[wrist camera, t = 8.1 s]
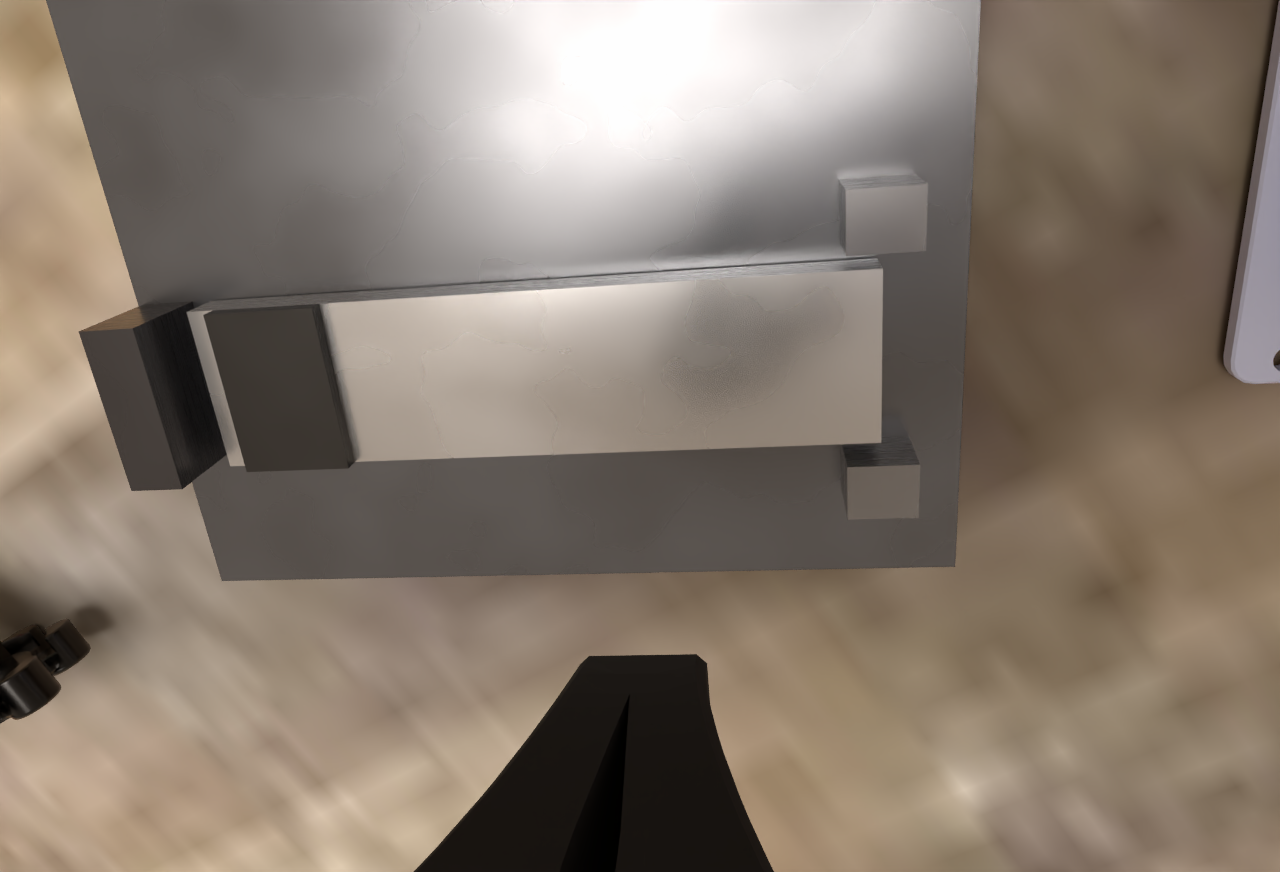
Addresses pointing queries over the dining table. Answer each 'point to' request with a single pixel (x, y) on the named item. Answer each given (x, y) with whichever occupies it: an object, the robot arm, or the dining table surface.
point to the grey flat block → (534, 250)
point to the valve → (36, 666)
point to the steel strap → (549, 366)
